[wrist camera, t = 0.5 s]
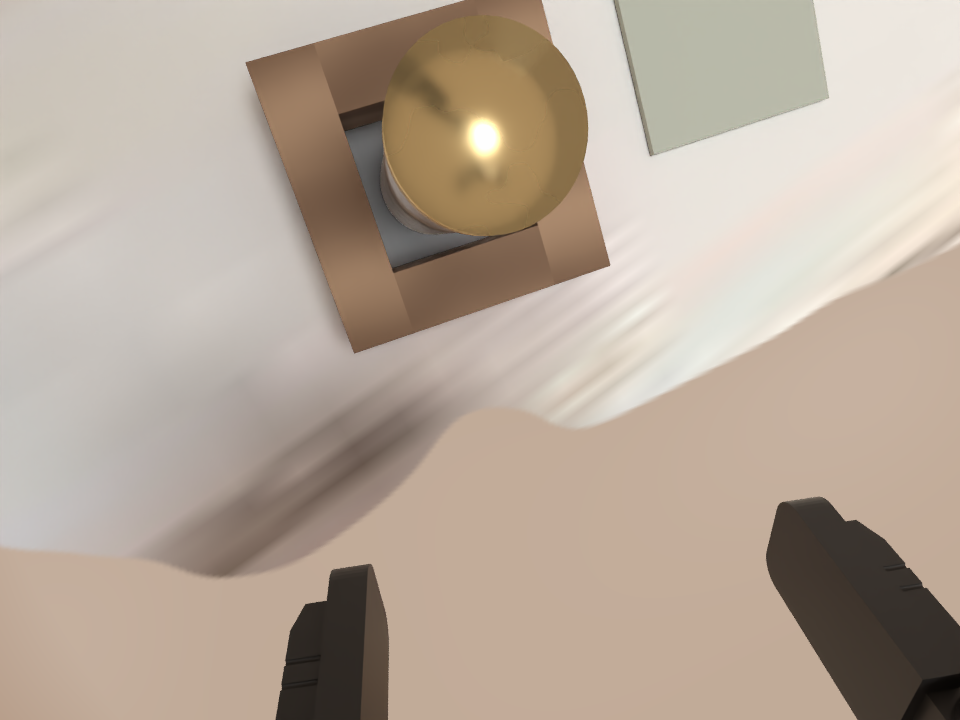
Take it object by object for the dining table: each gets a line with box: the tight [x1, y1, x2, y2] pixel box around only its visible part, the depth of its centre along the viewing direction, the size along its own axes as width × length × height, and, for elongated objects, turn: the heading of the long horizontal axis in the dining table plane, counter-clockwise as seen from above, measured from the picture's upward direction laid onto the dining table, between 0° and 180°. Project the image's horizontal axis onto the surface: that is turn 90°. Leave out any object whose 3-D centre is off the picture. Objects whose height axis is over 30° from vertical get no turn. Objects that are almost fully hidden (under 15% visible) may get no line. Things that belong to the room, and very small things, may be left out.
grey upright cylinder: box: [380, 15, 588, 236], centre depth 23 cm, size 5×5×14 cm
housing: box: [246, 0, 610, 353], centre depth 27 cm, size 12×12×4 cm
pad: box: [614, 0, 829, 156], centre depth 30 cm, size 10×10×1 cm
